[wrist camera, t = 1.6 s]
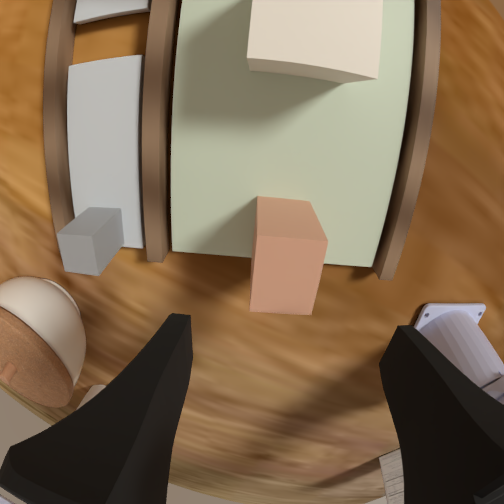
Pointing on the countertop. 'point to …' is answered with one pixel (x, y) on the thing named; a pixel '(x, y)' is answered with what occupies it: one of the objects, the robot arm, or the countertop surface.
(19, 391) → the lidded jar
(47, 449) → the robot arm
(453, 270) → the countertop surface
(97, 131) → the grey l-shaped bracket
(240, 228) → the green flat panel
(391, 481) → the syrup box
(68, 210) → the lane rails
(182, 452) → the countertop surface
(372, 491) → the countertop surface
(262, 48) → the cream cube
